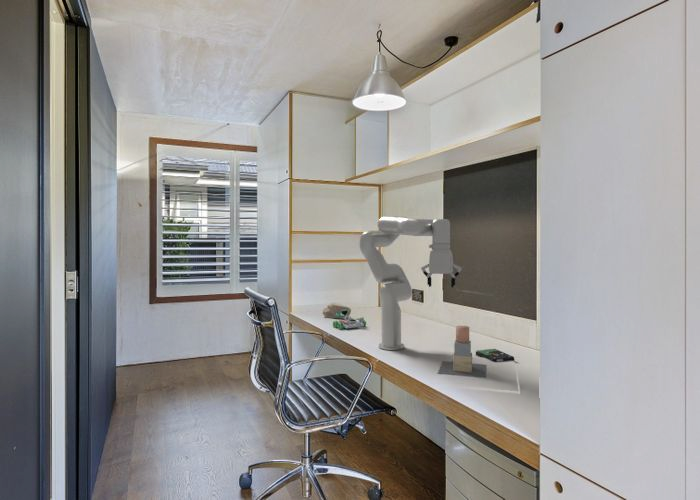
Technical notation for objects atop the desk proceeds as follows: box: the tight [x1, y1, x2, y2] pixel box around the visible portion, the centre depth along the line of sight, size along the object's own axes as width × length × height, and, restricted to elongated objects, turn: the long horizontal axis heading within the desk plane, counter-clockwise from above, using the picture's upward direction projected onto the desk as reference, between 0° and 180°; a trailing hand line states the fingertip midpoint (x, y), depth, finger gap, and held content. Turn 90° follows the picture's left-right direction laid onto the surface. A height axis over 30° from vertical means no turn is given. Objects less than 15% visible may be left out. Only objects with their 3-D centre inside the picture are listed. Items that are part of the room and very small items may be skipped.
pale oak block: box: [452, 352, 473, 372], centre depth 177 cm, size 7×7×6 cm
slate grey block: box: [453, 339, 472, 357], centre depth 176 cm, size 6×6×5 cm
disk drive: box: [475, 348, 515, 363], centre depth 195 cm, size 10×3×15 cm
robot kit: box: [332, 310, 367, 331], centre depth 269 cm, size 19×25×9 cm
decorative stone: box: [322, 302, 352, 320], centre depth 296 cm, size 20×8×10 cm, turn 60°
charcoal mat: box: [436, 360, 488, 379], centre depth 177 cm, size 18×18×1 cm
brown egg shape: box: [455, 325, 470, 343], centre depth 176 cm, size 5×5×6 cm
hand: (441, 286), depth 191 cm, fingers open, 9 cm apart
